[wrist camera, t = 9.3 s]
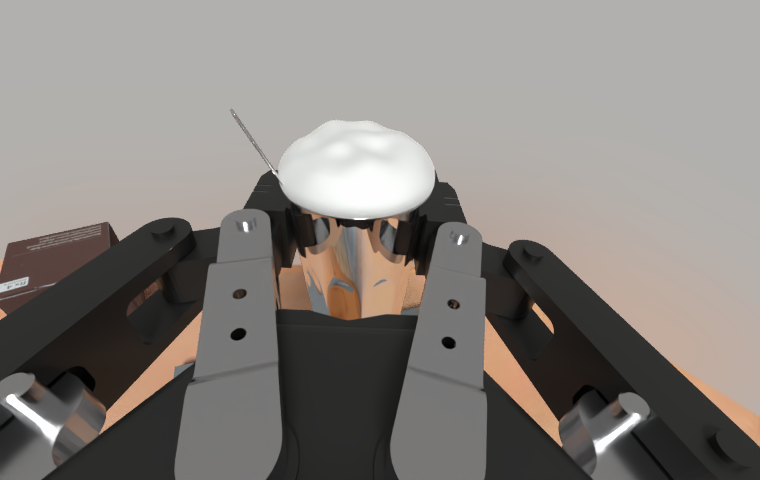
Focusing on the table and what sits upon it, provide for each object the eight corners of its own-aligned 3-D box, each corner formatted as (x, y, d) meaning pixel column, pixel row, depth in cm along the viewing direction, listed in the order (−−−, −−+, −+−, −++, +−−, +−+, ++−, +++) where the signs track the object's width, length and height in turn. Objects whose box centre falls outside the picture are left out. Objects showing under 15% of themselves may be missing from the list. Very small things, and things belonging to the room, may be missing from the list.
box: (144, 283, 31) (110, 219, 26) (151, 332, 27) (113, 267, 22) (60, 308, 28) (5, 241, 23) (54, 366, 24) (-12, 300, 20)
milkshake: (276, 319, 15) (221, 85, 9) (381, 286, 17) (395, 74, 11) (301, 411, 12) (245, 149, 6) (427, 358, 14) (484, 119, 8)
